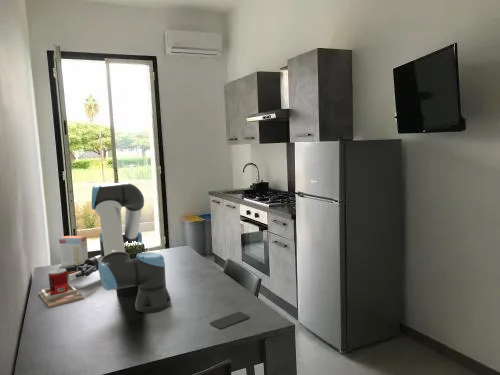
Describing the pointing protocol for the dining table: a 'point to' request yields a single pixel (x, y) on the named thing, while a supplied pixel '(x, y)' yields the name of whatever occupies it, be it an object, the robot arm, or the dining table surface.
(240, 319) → the phone
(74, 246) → the cracker box
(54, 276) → the canned food
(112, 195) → the robot arm
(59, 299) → the board
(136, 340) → the dining table surface
